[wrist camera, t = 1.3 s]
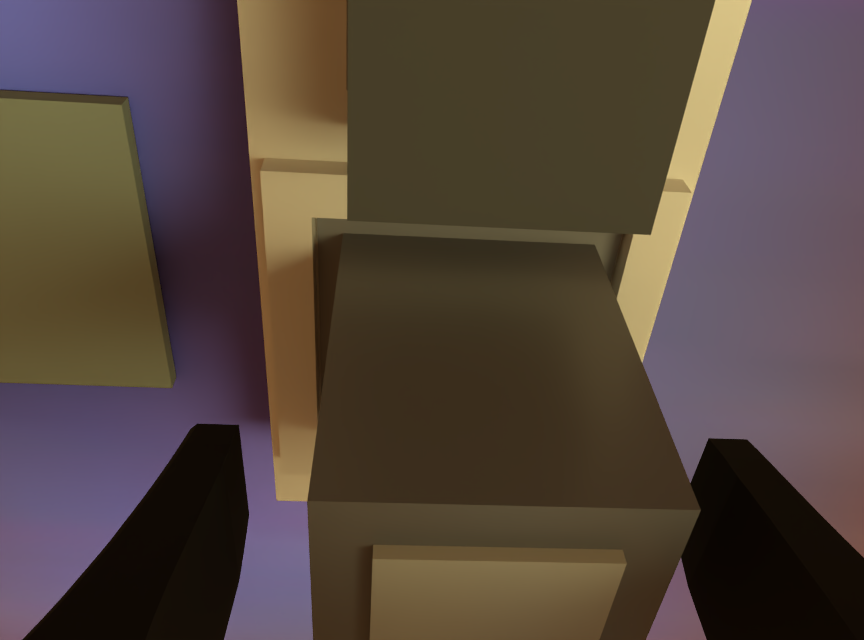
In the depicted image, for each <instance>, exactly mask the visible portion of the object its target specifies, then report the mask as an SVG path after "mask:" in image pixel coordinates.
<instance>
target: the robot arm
mask: <svg viewBox="0 0 864 640" xmlns="http://www.w3.org/2000/svg"><path fill="white" fill-rule="evenodd" d="M690 484H691V487H692V489H693V492H694V494H695V497H696V499H697V502H698V504H699V507H700V509H701V511H700V513H699V516H698V518H697V520H696V523H695V525H694V527H693V530H692V532H691V534H690V537H689V539H688V542H687V544H686V546H685V549H684V551H683V553H682V556H681V559H682V563H683V567H684V571H685V575H686V580H687V584H688V587H689V590H690V593H691V596H692V599H693V602H694V605H695V608H696V611H697V613H698V616H699V619H700V622H701V625H702V627H703V630H704V633H705V636H706V639H707V640H864V558H863V557H862V556H861V555H860V554H859V553H858V552H857V551H856V550H855V549H854V548H853V547H852V546H851V545H850V544H849V543H848V542H847V541H846V540H845V539H844V538H843V537H842V536H841V535H840V534H839V533H838V532H837V531H836V530H835V529H834V528H833V527H832V526H831V525H830V524H829V523H828V522H827V521H826V520H825V519H824V518H823V517H822V516H821V515H820V514H819V513H818V512H817V511H816V510H815V509H814V508H813V507H812V506H811V505H810V504H809V503H808V502H807V500H806V499H805V498H804V497H803V496H802V495H801V494H800V493H799V492H798V491H797V490H796V489H795V488H794V487H793V486H792V485H791V484H790V483H789V482H788V481H787V480H786V479H785V478H784V477H783V476H782V475H781V474H780V473H779V472H778V470H777V469H776V468H775V467H774V466H773V465H772V464H771V463H770V462H769V461H768V460H767V459H766V458H765V457H764V456H763V455H762V454H761V453H760V452H759V451H758V450H757V449H756V448H755V447H754V446H753V445H752V444H751V443H750V442H749V441H748V440H744V439H710V438H709V439H708V441H707V444H706V446H705V449H704V451H703V454H702V456H701V459H700V461H699V464H698V466H697V469H696V471H695V474H694V476H693V478H692V481H691V483H690ZM248 519H249V510H248V501H247V492H246V484H245V475H244V466H243V458H242V449H241V440H240V432H239V425H223V424H197V425H195V426H194V427H193V428H191V429H190V431H189V432H188V434H187V435H186V437H185V439H184V440H183V442H182V443H181V445H180V446H179V448H178V449H177V451H176V452H175V454H174V455H173V457H172V458H171V460H170V461H169V463H168V464H167V466H166V467H165V468H164V470H163V471H162V473H161V474H160V476H159V477H158V478H157V480H156V481H155V482H154V484H153V485H152V487H151V488H150V489H149V491H148V492H147V493H146V495H145V496H144V498H143V499H142V500H141V502H140V503H139V504H138V505H137V507H136V508H135V509H134V511H133V512H132V513H131V515H130V516H129V517H128V518H127V520H126V521H125V522H124V524H123V525H122V526H121V527H120V529H119V530H118V531H117V533H116V534H115V535H114V537H113V538H112V539H111V540H110V542H109V543H108V544H107V545H106V546H105V548H104V549H103V550H102V551H101V553H100V554H99V555H98V556H97V557H96V558H95V560H94V561H93V562H92V563H91V564H90V565H89V567H88V568H87V569H86V570H85V571H84V572H83V574H82V575H81V576H80V577H79V578H78V579H77V581H76V582H75V583H74V584H73V585H72V586H71V588H70V589H69V590H68V591H67V592H66V593H65V595H64V596H63V597H62V598H61V599H60V600H59V601H58V602H57V603H56V605H55V606H54V607H53V608H52V609H51V610H50V611H49V612H48V613H47V614H46V615H45V617H44V618H43V619H42V620H41V621H40V622H39V623H38V624H37V625H36V626H35V627H34V628H33V629H32V630H31V631H30V632H29V633H28V634H27V635H26V637H25V638H24V639H23V640H224V637H225V633H226V629H227V625H228V621H229V618H230V614H231V610H232V606H233V602H234V598H235V595H236V591H237V587H238V583H239V579H240V572H241V566H242V560H243V553H244V547H245V540H246V533H247V526H248Z"/></svg>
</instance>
